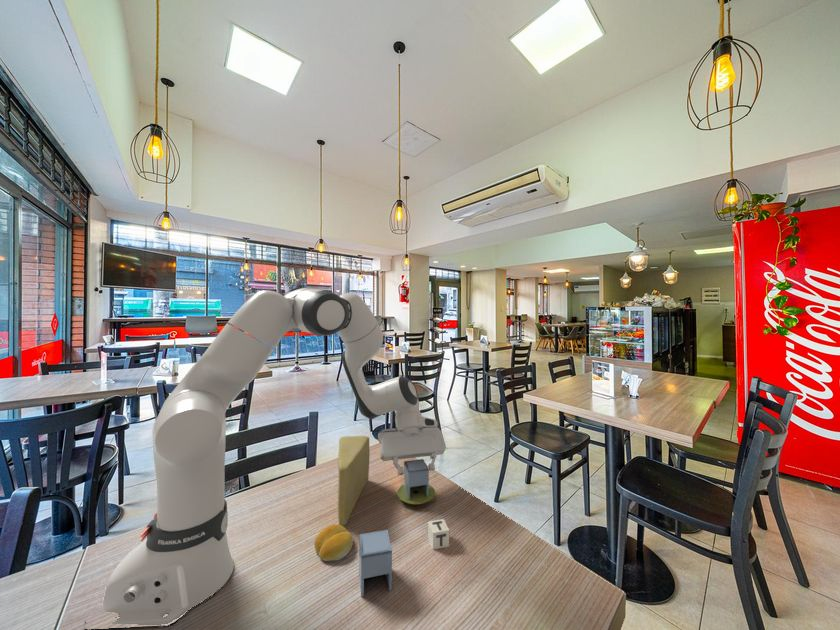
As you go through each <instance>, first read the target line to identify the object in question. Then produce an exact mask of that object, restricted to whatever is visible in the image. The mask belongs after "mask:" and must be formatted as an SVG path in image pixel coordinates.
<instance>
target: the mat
mask: <svg viewBox="0 0 840 630" xmlns="http://www.w3.org/2000/svg"><path fill="white" fill-rule="evenodd" d="M396 493H397V494H396V495H397V497H398V498H399V500H401V501H402V502H404V503H406V504H409V505H410V504H411V505H421V504H425V503H427V502H430V501H431V500H433V499H434V498H435V495H436V489H435V488H434V487H433V486H432V485H431V484H429V496H426V494H425V492H424V489H423V487H422V486H419V487H412V488H410V499H408V497H407V495H406V492H405V489H404V484H402V485H400V486H399V487H398V489H397V492H396Z"/></svg>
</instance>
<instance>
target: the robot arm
mask: <svg viewBox="0 0 840 630" xmlns="http://www.w3.org/2000/svg"><path fill="white" fill-rule="evenodd" d="M295 328H298V329H299V330H300V331H302V332H304V333H308V334H313V335H316V336H319V337H321V336H324V337H325V336H326V337H327V336H330V335H334V334H336V333H338V336H339V337H340V339H341V341H342V342H343V345H344V350H343V352H342V354H341V362H342V365H343V369H344V372H345V375H346V377H347V380H348V382H349V384H350V387H351V389H352V392H353V394H354V396H355V401H356V404H357V408H358V411H359V412H360V414H361V415H362V416H363V417H365V418H366V419H369V420H373V419H376V418H378V417H380V416H382V415H385V414H388V413H391V412H394V413H395V417H394V421H395V428H384V429H382V430H380V431H379V432H378V434H377V438H378V442H379V444H380V451H379V452H380V453H379V454H380V460H382V461H383V462H389V461H392V464H393V466H394V467H395V468H396V470H397V475H398V476H404V466H400V465H399V460H406V459H414V458H422V457H429V458H430V460H431V462H429V464H428V465H427V467H428V468H429V472H433V471H435V470H436V466H435V462H436V459H437V456H440V455H443V454H444V453H445V451H446V449H447V445H446V441H445V438H444V435H443V433H442V430H441V429H440V428H439V427H438V424H439V423H438V420H437V419H433V418H429V417H426V416H422V413H421V411H420V402H419V395H418V391H417V388H416V386H415V383H414V382H413V381H412V379H409V378H407V377H406V376H402V375H401V376H397V377H393V378H391V379H387V380H385V381H383V382H380V383H377V384H373V385H372V384H371V385H370V384H368V383H367V381H366V378H365V375H364V373H363V372H364V371H363V369H362V368H363V367H364V366H365V365H366V364H367V363H369V361H371V360H372V359H373V358H374V357H375V356H376V355H377V354H378V353H379V351H380V350H381V347H382V346H383V343H384V334H383V330H382V328H381V326H380V324H379V322H378V320H377V318H376V316H375V315H374V313H373V312H372V310H371V308H369V306H368V305H367V304H366V302H365V301H364V299H363V298H362V297H361V296H360V295H358V294H357V293H353V292H346V293H343V294H340V295H338V294H337V293H335V292H333V291H330V290H329V291H328V290H323V289H320V288H318V287H301V286H300V287H296V288H293V289H290V290H288V291H287V292H284V293H282V294H281V293H280V292H277V291H274V290H269V289H268V290H267V289H263V290H259V291H257V292H255V293H254V294H253V295H252V296H251V297H250V298H248V299H247V300H246V301H245V302H244V303H243V304H242V305H241V306H240V307H239V308H238V309H237V310H236V311H235V313H233V315H232V317H231V318H230V319H229V320H228V321H227V322H226V324H225V325H224V327H222V329H221V331H220V332H218V334H217V336H216V337H215V338H214V339H213V341H212V342H211V344H209V346H208V348H207V349H206V350H205V351H204V353H203V354H202V355H201V356H200V358H199V359H198V360H197V361H196V362H195V364H194V365H193V366H192V367H191V368H190V369H189V370H188V372H187V373H186V374H184V377H183V378H182V379H181V380H180V381H179V383H178V384H177V386H175V388H174V389H173V390H172V392H171V393H169V395H168V397H166V398H165V401H164V402H163V404H162V406H161V408H160V411H159V413H158V415H157V417H156V419H155V421H154V424H153V426H152V447H153V448H152V449H153V450H152V452H153V463H154V472H155V479H156V491H157V492H156V495H157V496H156V510H157V511H156V513H155V514H154V516H153V519H152V520H151V521H150V522H149V523H148V524H147V525H146V528H145V530H144V531H143V532H142V534H141V535H140V537H141V538H140V543H139V544H138V545H136V546H135V547H134V548H133V549H132V550H130V551H129V552H128V553H127V554H126V556H124V558H122V560H121V561H120V562H119V563H118V564H117V566H116V567H115V568H114V570H113V571H112V573H111V574H110V576H109V578H108V581H107V582H106V586H105V588H104V589H105V593H104V598H103V604H102V610H103V611H107V612H115V613H118V615H119V616H118V617H120V618H119V619H117V621H115V622H111V623H112V624H138V625H161V624H168V623H170V622H172V621H173V620H175V619H177V618H179V617H180V616H181V615H183V614H184V613H185V612H186V611H188V610H189V609H190V608H192V607H193V606H195V605H197V604H199V603H200V602H201V601H204V600H205V599H206V598H208V597H209V596H211V595H212V594H213V593H215V592H216V591H217V590H218V589H219V590H220V589H222V588H221V587H224V585H225V584H227V582H228V580H229V579H230V577H231V576H232V574H233V572H234V568H235V563H234V560H233V558H232V555H231V552H230V548H229V542H228V537H227V529H228V524H229V523H228V522H229V513H228V502H227V500H226V499H225V495H226V492H225V491H226V490H225V489H226V487H225V486H226V485H225V479H226V478H225V475H226V474H225V472H226V471H225V465H226V461H225V460H226V434H227V433H226V431H227V430H226V429H227V428H226V427H227V419H226V411H227V410H228V408H229V407H230V405H232V403H233V402H234V401H235V400H236V398H237V397H238V396H239V395H240V394H241V393H242V391H244V389H245V388H246V387H247V386H248V385H249V384H250V383H251V382H253V380H254V379H255V378H256V377H257V375H258V374H259V373H260V371H261V370H262V368H263V367H264V365H265V363H266V362H267V361H268V359H269V358H270V356H271V355H272V353H273V352H274V350H275V349H276V347H277V346H278V345H279V343H280V341H281V340H282V338H283V337H284V336H285V335H286V334H287V333H288V332H289V331H291V330H293V329H295ZM145 538H146V539H145ZM219 590H218V591H219ZM218 591H217V592H218ZM217 592H216V593H217ZM216 593H215V594H216ZM212 596H213V595H212ZM212 596H211V597H212ZM208 599H209V598H208ZM205 601H206V600H205ZM205 601H204V602H205ZM200 604H201V603H200ZM200 604H199V605H200ZM197 606H198V605H197ZM195 607H196V606H195ZM192 609H193V608H192ZM188 612H189V611H188ZM165 614H168V616H166V617H164V618H163V616H164V615H165ZM115 618H117V617H115Z"/></svg>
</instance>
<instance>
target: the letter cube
mask: <svg viewBox="0 0 840 630" xmlns="http://www.w3.org/2000/svg"><path fill="white" fill-rule="evenodd" d="M427 538H428V541H429V544H430V546H431V548H432V550H438V549H442V548H443V549H444V548H447V547H450V529H449V527H448V525H447V523H446V520H445V519H444V518H442V519H437V520H436V519H435V520H429V521H428V522H427Z"/></svg>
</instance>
